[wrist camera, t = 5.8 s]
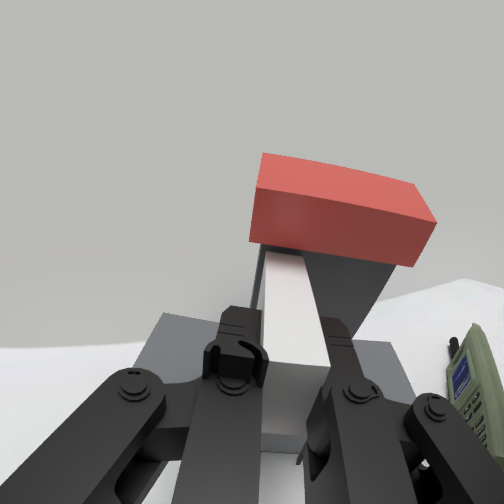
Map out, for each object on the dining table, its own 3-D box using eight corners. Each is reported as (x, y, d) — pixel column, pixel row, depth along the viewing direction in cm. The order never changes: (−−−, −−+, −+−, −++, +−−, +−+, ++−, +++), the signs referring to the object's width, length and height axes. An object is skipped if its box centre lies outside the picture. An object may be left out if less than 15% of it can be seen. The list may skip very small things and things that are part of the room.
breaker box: (366, 385, 27) (388, 339, 25) (386, 451, 19) (420, 405, 17) (166, 361, 27) (164, 310, 25) (137, 427, 19) (127, 375, 17)
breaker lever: (329, 349, 22) (413, 184, 12) (330, 384, 20) (437, 222, 10) (237, 338, 22) (262, 152, 12) (231, 374, 20) (256, 187, 10)
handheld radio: (441, 500, 14) (439, 344, 35) (469, 503, 12) (457, 350, 34) (495, 455, 11) (460, 303, 32) (523, 459, 10) (479, 310, 31)
